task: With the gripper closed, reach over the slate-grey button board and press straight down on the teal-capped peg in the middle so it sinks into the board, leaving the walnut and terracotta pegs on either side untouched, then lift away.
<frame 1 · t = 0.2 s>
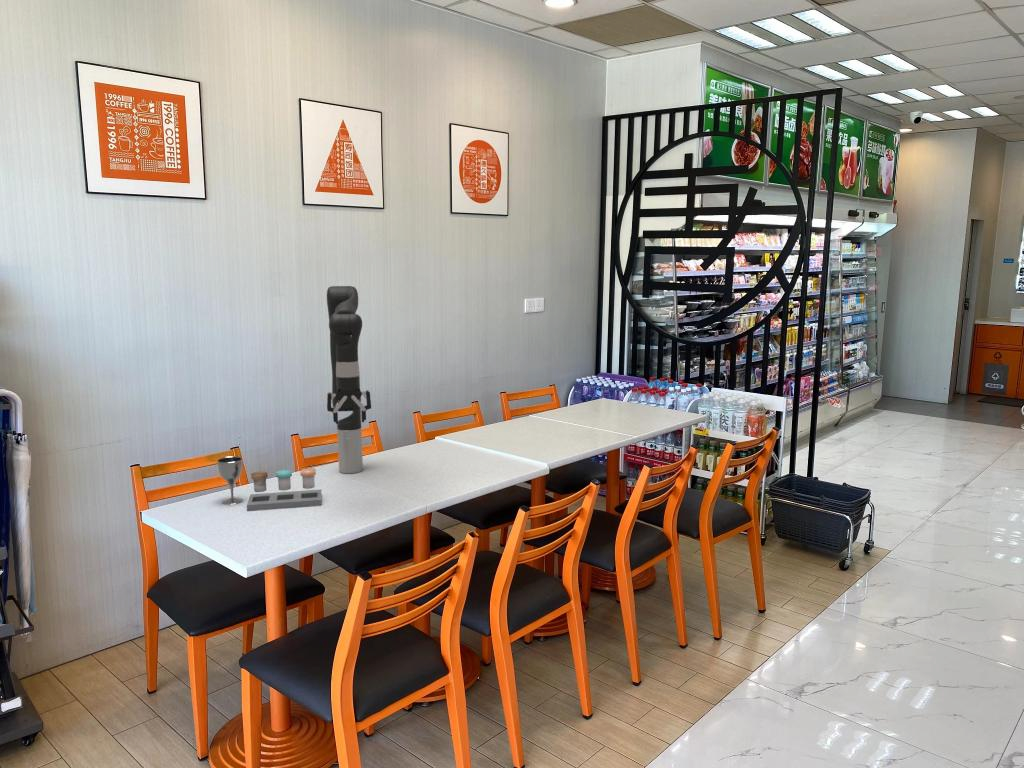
hand: (349, 422, 256), 29 cm above the table, fingers open, 8 cm apart
button board: (285, 502, 265), on the table
teal button: (284, 480, 263), point 8 cm above the table, slide at 0.0 cm
terracotta button: (308, 478, 265), point 8 cm above the table, slide at 0.0 cm
wine glass: (232, 501, 266), on the table
walnut button: (259, 481, 262), point 8 cm above the table, slide at 0.0 cm
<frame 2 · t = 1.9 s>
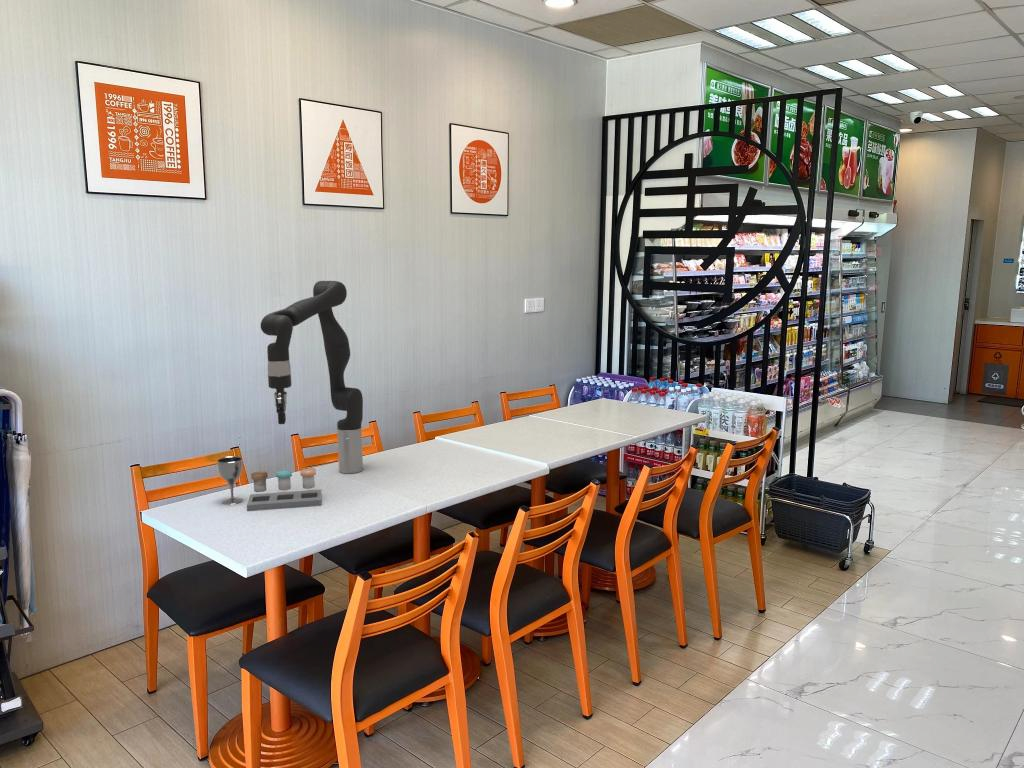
hand: (282, 422, 265), 27 cm above the table, fingers open, 3 cm apart
nothing on the table moved.
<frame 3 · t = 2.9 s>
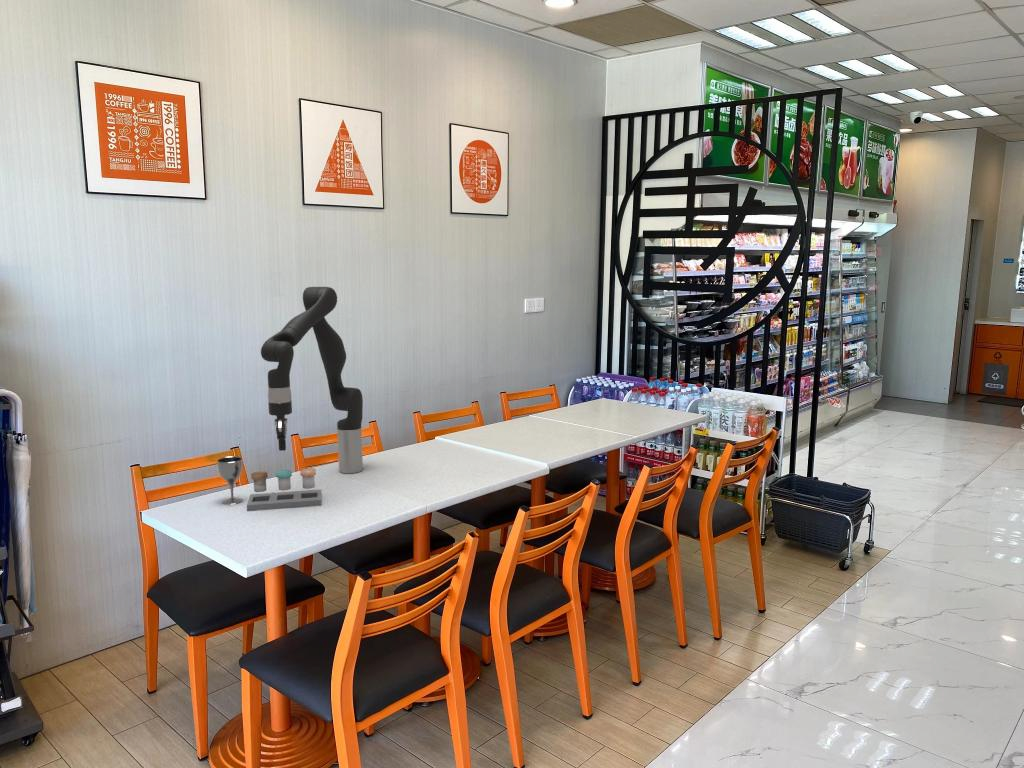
hand: (282, 450, 262), 19 cm above the table, fingers closed
nothing on the table moved.
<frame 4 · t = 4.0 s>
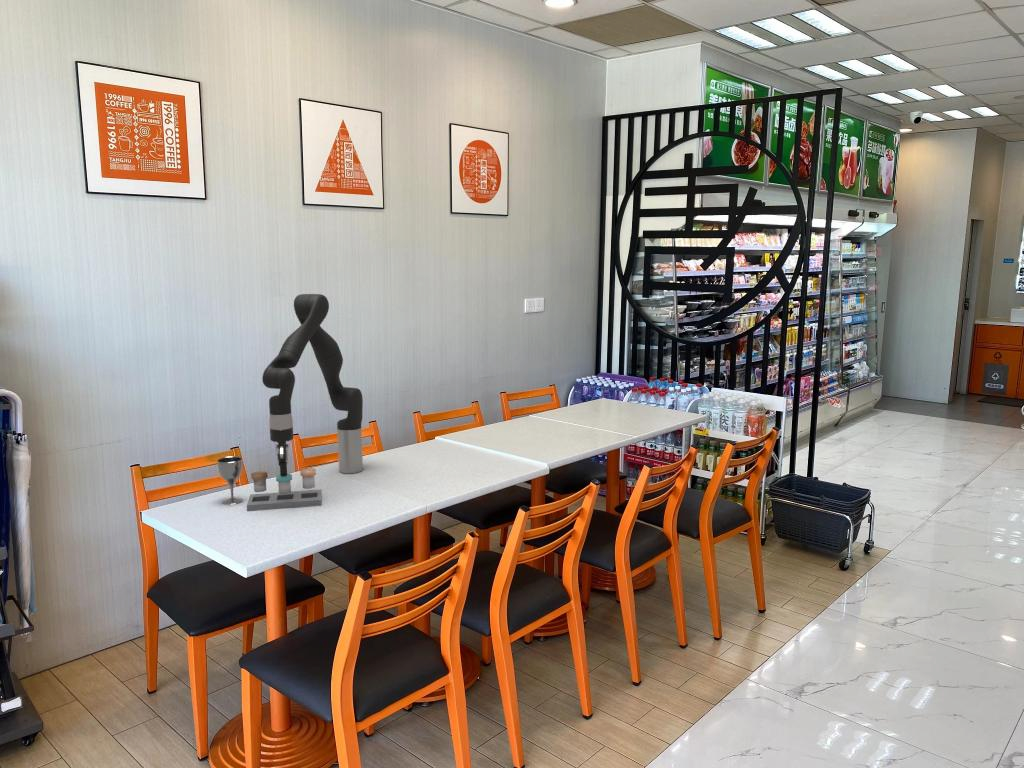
hand: (283, 475, 263), 10 cm above the table, fingers closed
teal button: (284, 484, 264), point 7 cm above the table, slide at -1.4 cm, touching gripper
everything else where it was.
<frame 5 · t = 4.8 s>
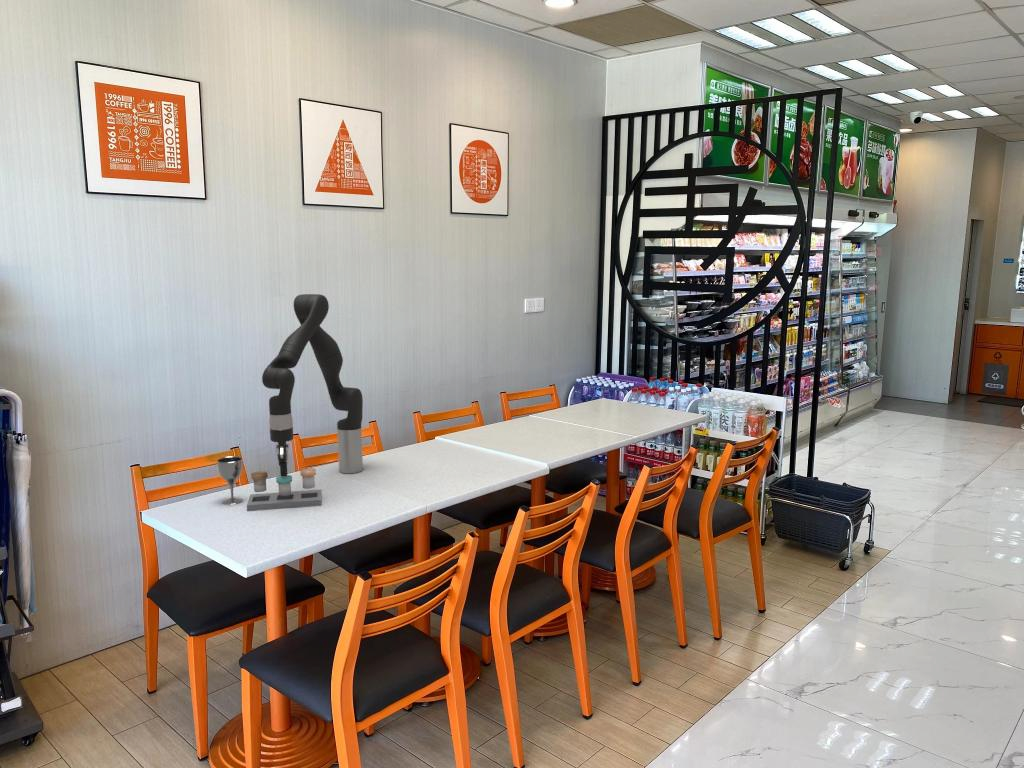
hand: (284, 475, 263), 10 cm above the table, fingers closed
teal button: (284, 485, 264), point 6 cm above the table, slide at -1.9 cm
everything else where it was.
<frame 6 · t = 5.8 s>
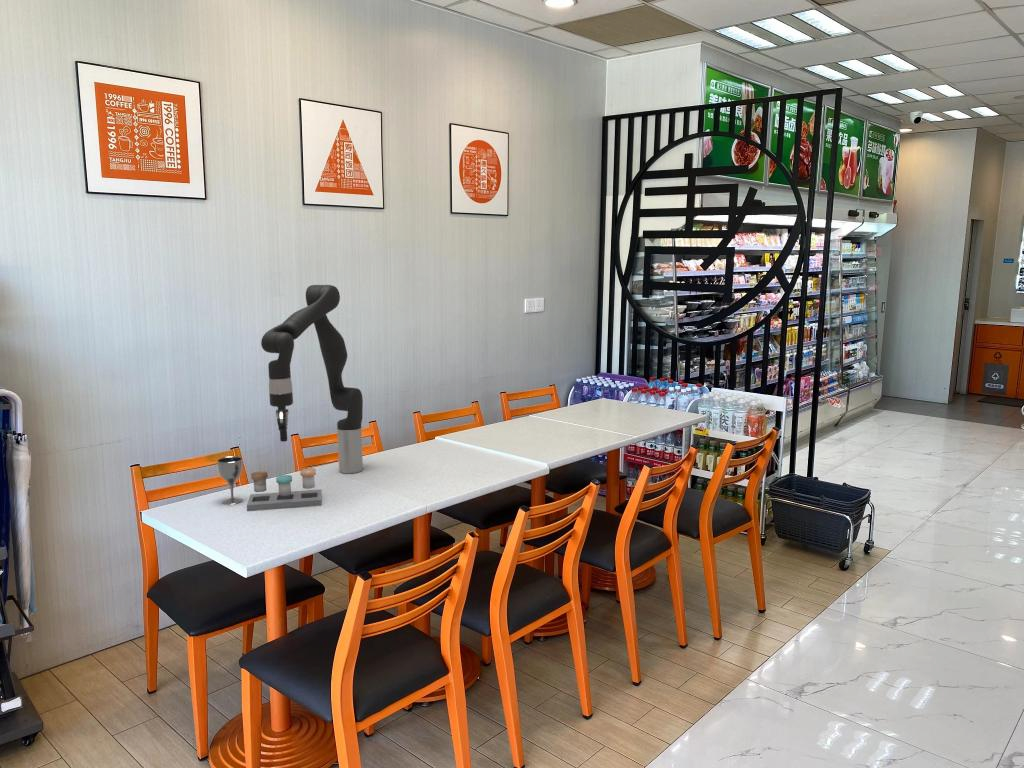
hand: (283, 440, 262), 22 cm above the table, fingers closed
nothing on the table moved.
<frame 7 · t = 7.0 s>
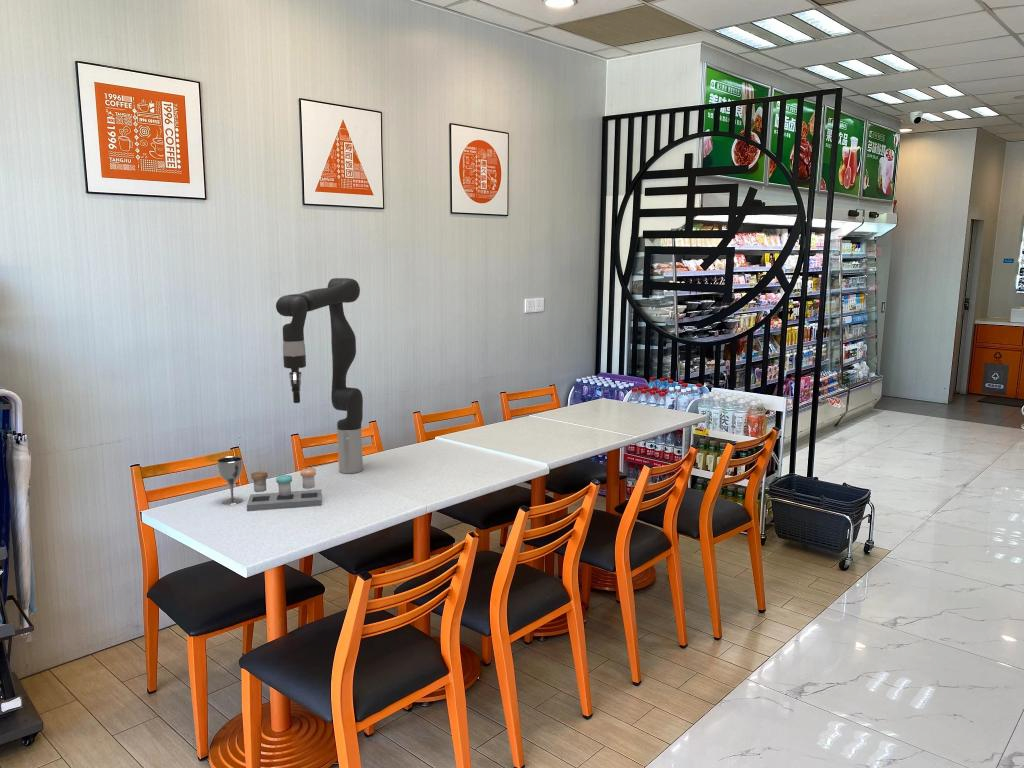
hand: (296, 402, 270), 33 cm above the table, fingers closed
nothing on the table moved.
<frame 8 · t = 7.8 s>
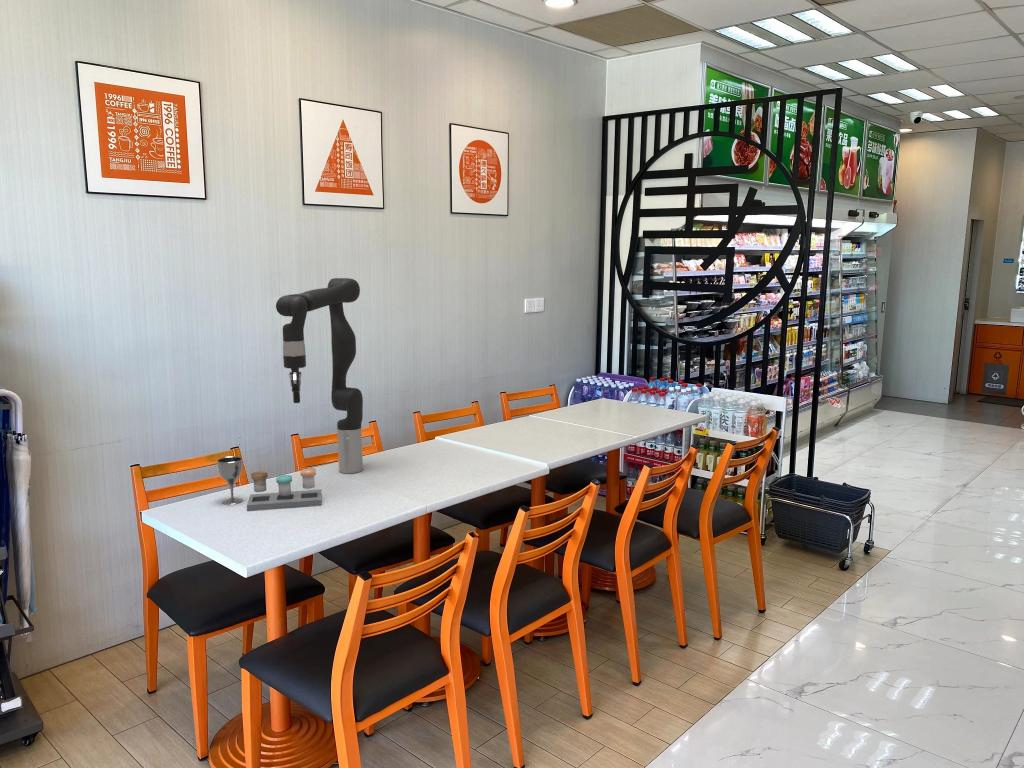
hand: (296, 402, 270), 33 cm above the table, fingers closed
nothing on the table moved.
at the end: teal button slide at -1.9 cm; walnut button slide at 0.0 cm; terracotta button slide at 0.0 cm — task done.
